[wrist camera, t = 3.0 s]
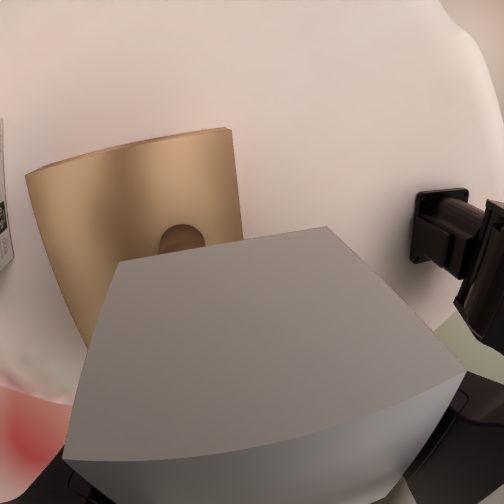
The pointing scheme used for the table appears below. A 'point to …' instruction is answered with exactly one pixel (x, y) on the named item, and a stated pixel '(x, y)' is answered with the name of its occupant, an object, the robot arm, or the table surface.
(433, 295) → the table surface
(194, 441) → the grey cube
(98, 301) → the board
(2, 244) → the light bulb box
